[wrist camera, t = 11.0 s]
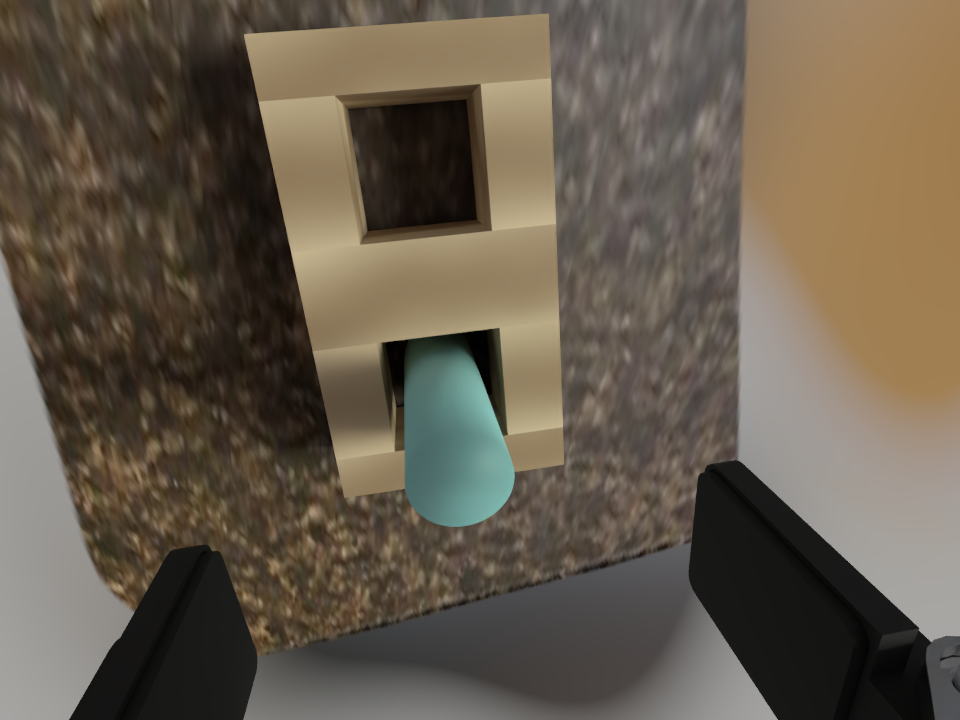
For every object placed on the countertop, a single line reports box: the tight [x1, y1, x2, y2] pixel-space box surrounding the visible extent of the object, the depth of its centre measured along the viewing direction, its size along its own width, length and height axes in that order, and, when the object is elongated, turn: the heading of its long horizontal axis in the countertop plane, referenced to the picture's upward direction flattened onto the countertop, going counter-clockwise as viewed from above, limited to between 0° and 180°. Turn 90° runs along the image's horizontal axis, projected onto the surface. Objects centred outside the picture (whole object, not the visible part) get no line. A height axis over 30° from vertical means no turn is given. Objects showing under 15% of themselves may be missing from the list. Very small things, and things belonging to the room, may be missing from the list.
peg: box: [404, 333, 514, 527], centre depth 19 cm, size 3×3×10 cm
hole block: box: [244, 14, 564, 498], centre depth 20 cm, size 16×9×4 cm, turn 5°
